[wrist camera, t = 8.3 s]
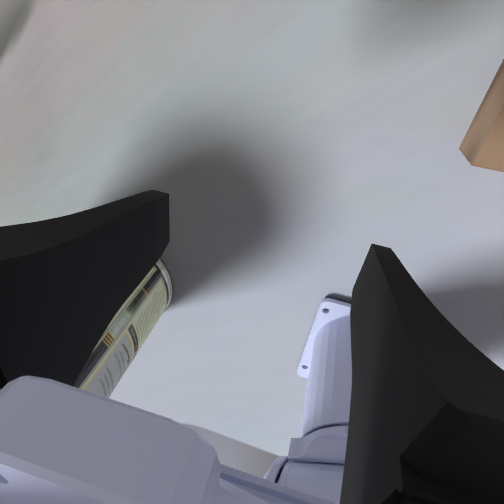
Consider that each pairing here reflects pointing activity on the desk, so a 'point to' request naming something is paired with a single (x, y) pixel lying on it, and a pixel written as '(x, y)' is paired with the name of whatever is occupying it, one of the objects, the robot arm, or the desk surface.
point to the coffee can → (126, 333)
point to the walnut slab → (488, 129)
